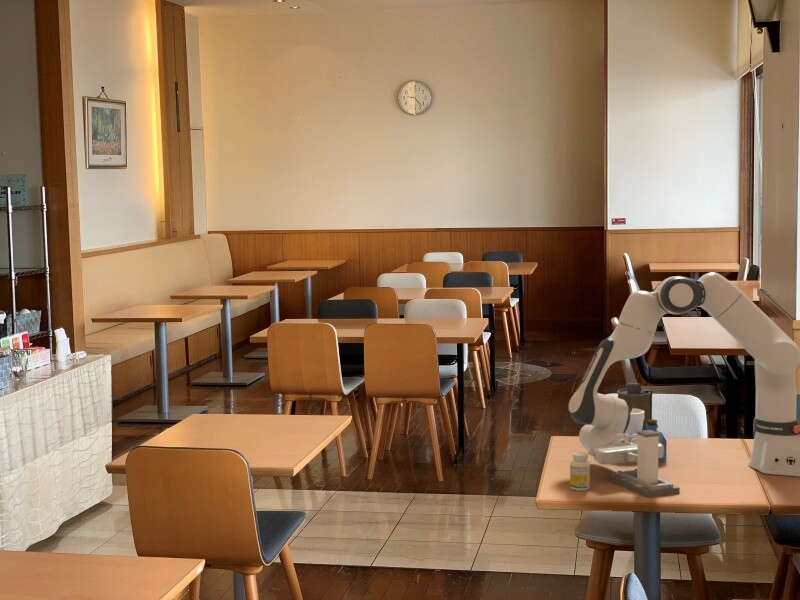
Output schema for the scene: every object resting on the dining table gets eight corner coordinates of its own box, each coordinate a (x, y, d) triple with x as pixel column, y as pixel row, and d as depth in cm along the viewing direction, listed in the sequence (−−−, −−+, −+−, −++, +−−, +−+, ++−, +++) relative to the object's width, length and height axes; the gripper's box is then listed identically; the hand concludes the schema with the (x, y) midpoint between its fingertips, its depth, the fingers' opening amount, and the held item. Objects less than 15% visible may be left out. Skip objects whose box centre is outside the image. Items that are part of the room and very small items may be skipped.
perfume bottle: (654, 456, 315) (655, 417, 314) (666, 461, 309) (666, 421, 308) (637, 458, 313) (637, 419, 312) (648, 463, 307) (648, 423, 306)
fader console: (611, 479, 290) (611, 471, 289) (641, 476, 293) (641, 467, 293) (647, 497, 273) (647, 488, 273) (679, 493, 276) (679, 483, 276)
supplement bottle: (582, 492, 278) (582, 457, 277) (566, 488, 282) (566, 454, 281) (594, 488, 282) (594, 453, 281) (578, 484, 286) (578, 450, 285)
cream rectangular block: (636, 480, 283) (637, 431, 281) (649, 479, 284) (650, 429, 283) (645, 484, 279) (645, 434, 277) (658, 483, 280) (659, 433, 279)
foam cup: (641, 457, 314) (642, 414, 313) (611, 454, 317) (611, 413, 316) (645, 449, 323) (645, 408, 322) (615, 447, 326) (615, 407, 325)
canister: (624, 450, 322) (624, 387, 320) (611, 442, 333) (612, 381, 331) (657, 448, 324) (657, 385, 322) (643, 440, 334) (644, 379, 332)
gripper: (584, 440, 292) (610, 451, 279) (647, 433, 299) (675, 444, 286) (584, 462, 293) (610, 474, 280) (646, 455, 299) (674, 466, 286)
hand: (643, 459), depth 283 cm, fingers closed, pressing on cream rectangular block
